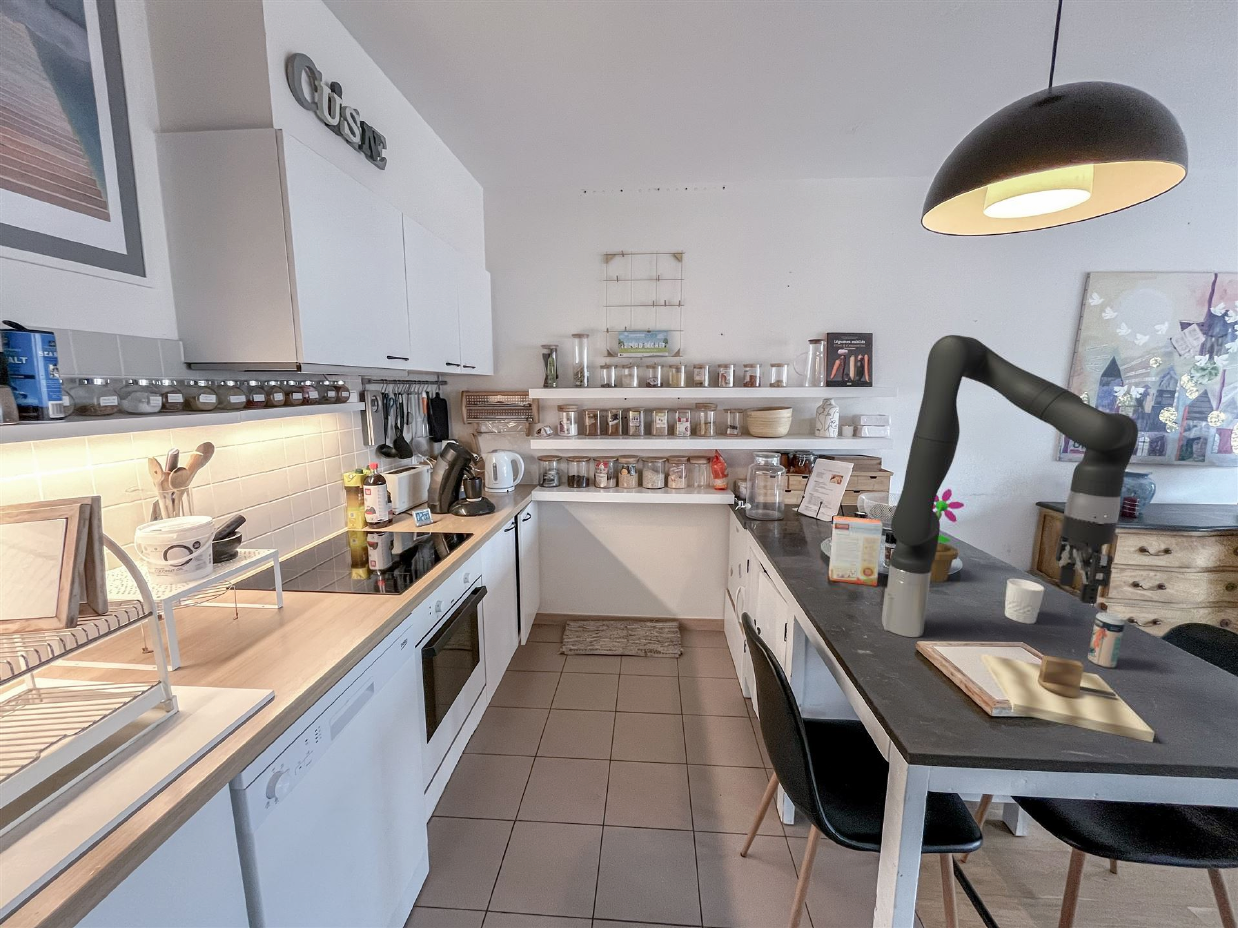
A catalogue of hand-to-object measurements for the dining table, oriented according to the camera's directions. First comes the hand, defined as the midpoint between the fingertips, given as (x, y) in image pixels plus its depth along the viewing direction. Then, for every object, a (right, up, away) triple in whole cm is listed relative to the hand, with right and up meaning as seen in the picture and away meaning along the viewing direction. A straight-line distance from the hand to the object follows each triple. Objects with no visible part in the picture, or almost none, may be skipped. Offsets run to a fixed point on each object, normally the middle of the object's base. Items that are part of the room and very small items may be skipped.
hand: (1075, 593), depth 97 cm
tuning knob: (+2, -21, +2) cm, 21 cm away
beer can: (+22, -21, +17) cm, 34 cm away
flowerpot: (+14, -12, +67) cm, 70 cm away
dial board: (0, -23, +4) cm, 23 cm away
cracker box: (-15, -13, +62) cm, 65 cm away
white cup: (+21, -17, +38) cm, 47 cm away
